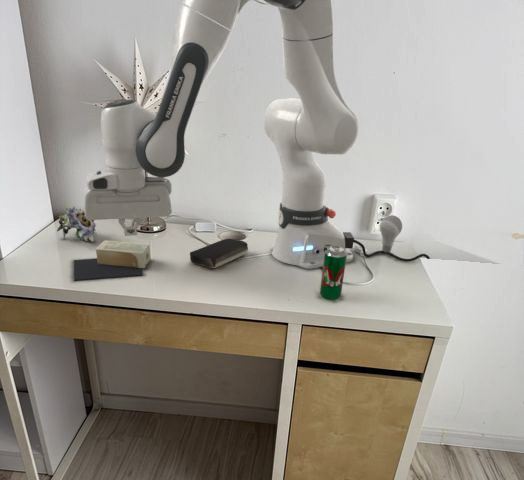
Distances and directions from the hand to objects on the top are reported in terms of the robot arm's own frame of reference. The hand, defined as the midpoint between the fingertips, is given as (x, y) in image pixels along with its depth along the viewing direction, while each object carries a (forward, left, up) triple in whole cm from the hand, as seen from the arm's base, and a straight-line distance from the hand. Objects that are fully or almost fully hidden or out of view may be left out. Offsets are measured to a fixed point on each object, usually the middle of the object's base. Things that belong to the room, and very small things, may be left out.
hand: (130, 234), depth 127 cm
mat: (+6, -1, -9) cm, 11 cm away
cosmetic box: (-4, -1, -6) cm, 7 cm away
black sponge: (-23, -1, -9) cm, 24 cm away
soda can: (-44, +25, -9) cm, 51 cm away
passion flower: (+13, -22, -9) cm, 27 cm away
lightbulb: (-71, +3, -9) cm, 71 cm away
